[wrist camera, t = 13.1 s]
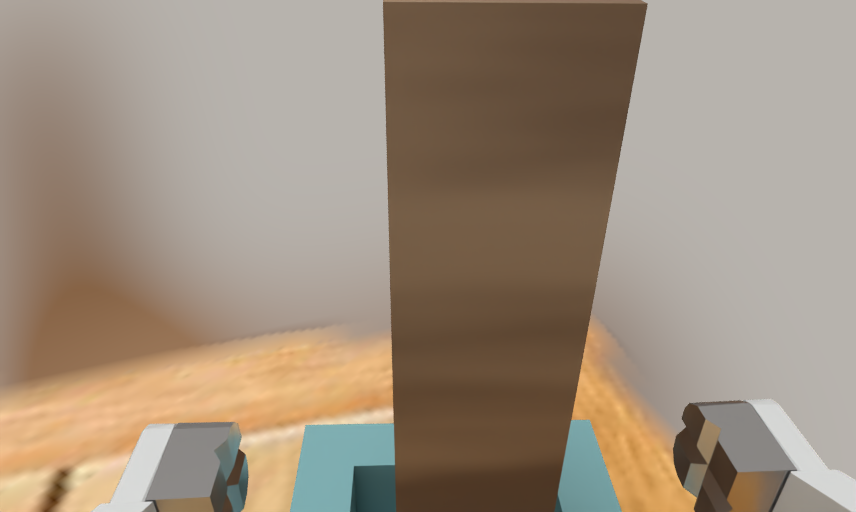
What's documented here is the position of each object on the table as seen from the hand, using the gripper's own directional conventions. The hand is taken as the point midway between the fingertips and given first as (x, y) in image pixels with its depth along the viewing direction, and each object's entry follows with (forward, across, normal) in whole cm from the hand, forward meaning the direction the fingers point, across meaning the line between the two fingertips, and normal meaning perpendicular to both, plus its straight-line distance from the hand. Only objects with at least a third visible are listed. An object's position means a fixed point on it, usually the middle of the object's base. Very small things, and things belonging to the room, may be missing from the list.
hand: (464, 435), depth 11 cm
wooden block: (+2, 0, -11) cm, 11 cm away
